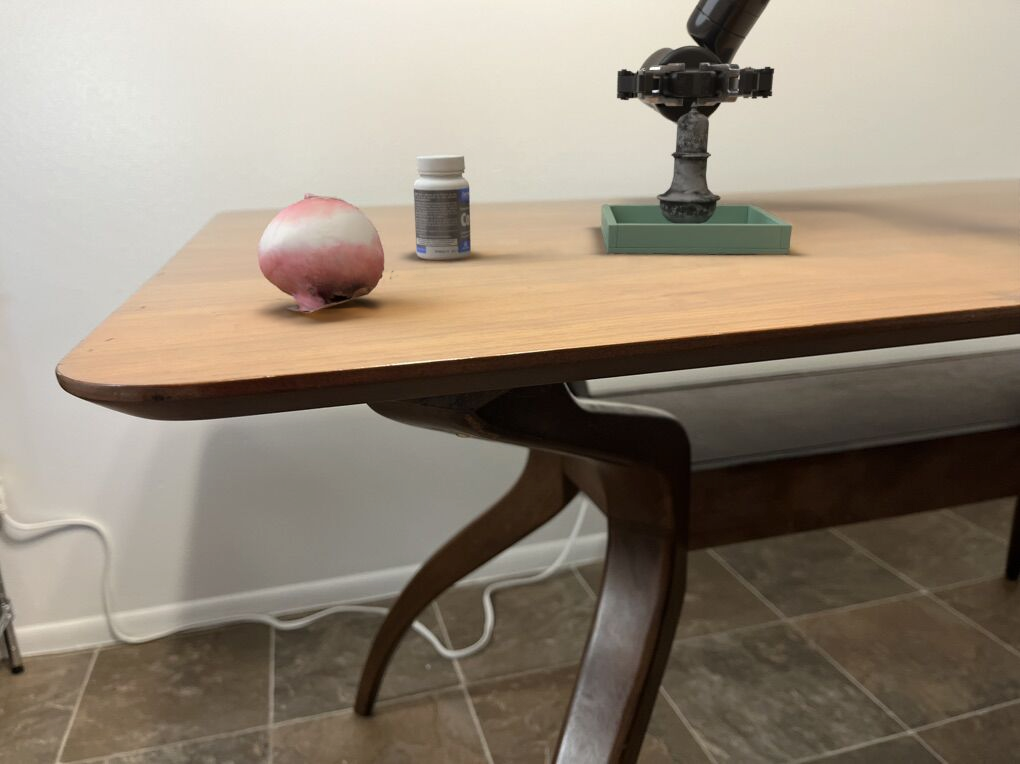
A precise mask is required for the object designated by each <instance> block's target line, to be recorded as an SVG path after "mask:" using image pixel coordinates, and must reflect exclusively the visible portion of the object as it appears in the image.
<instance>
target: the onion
mask: <svg viewBox="0 0 1020 764" xmlns="http://www.w3.org/2000/svg"><path fill="white" fill-rule="evenodd" d="M257 258H258V265H259V269H260V271H261V273H262V275H263V276H264V278H265V279H266V280H267V281H268V282H269V283H271V284H272V285H273V286H274V287H276V288H277V289H278V290H280V292H282V293H285V294H286V295H288V296H291V297H292V298H293V299H294V301H295V303H296V304H295V305H294V304H293V305H291V306H288V307H286V308H285V309H286V310H288V311H294V312H302V313H304V314H311V313H313V312H317V311H320V310H324V309H326V308H329V307H333V306H336V305H339V304H343V303H345V302H348V301H352V300H355V299H358V298H361V297H364V296H368V295H369V294H370V293H371V292H373V291H374V289H376V288H377V286H378V284H379V282H380V281H381V279H382V278H383V277H384V276H383V275H384V274H383V272H384V270H385V252H384V248H383V245H382V241H381V237H380V234H379V231H378V230H377V228H376V227H375V225H374V223H373V221H372V220H371V219H370V218H369V217H368V216H367V215H366V213H365V212H363V211H362V210H360V208H358V207H357V206H356V205H355V206H354V205H353V204H352V203H349V202H347V201H346V200H344V199H342V198H340V197H338V196H335V195H325V196H321V195H316V194H313V193H311V192H310V193H309V192H307V193H304V197H303V199H301V200H299V201H297V202H295V203H292V204H290V205H287V206H286V207H284V208H283V209H282V210H280V211H279V212H278V213H277V214H276V215H275V216H274V217H273V218H272V220H271V221H270V222H269V223H268V225H267V226H266V228H265V229H264V231H263V234H262V235H261V238H260V240H259V243H258V250H257Z"/></svg>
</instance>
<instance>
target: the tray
mask: <svg viewBox="0 0 1020 764" xmlns="http://www.w3.org/2000/svg"><path fill="white" fill-rule="evenodd" d="M600 213H601V214H600V216H601V217H600V230H601V234H602V236H603V241H604V245H605V248H606V252H607V254H645V255H647V254H649V255H650V254H654V255H656V254H658V255H660V254H661V255H663V254H664V255H665V254H667V255H668V254H670V255H671V254H673V255H674V254H675V255H677V254H679V255H789V254H790V247H791V240H792V239H791V237H792V231H793V229H792V228H793V225H792V224H790V223H789V222H787V221H785V220H784V219H781V218H780V217H778V216H776V215H775V214H772V213H770V212H769V211H767V210H765V209H764V208H762V207H759V206H757V205H756V204H716V209H715V211H714V213H713V215H712V217H711V218H710V219H709V220H707V221H706V222H703V223H700V224H674V223H672V222H670V221H667V220H666V218H665V217H664V216H663V215H662V213H661V210H660V204H601V211H600Z"/></svg>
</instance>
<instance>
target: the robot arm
mask: <svg viewBox="0 0 1020 764" xmlns="http://www.w3.org/2000/svg"><path fill="white" fill-rule="evenodd" d="M770 2H771V0H698V2H697V4H696V5H695V7H694V9H693V10H692V11H691V13H690V15H689V17H688V18H687V21H686V25H685V29H686V32H687V34H688V36H689V37H690V38H691V40H693V42H694V43H695V44H696V45H684V46H681V47H677V48H675V49H673V48H672V47H662V48H659V49H657V50H655V51H654V52H653V53H651V54H650V55H649V56H648V57H646V59H645V60H644V61H643V63H642V64H641V66H640V67H639V70H638V69H637V70H636V71H634V72H633V71H631V70H627V68H622V69H621V70H618V71H617V79H616V80H617V81H616V99H619V100H620V101H630V99H637V100H639V101H640V103H642V104H644V105H646V107H648V108H650V109H651V110H653V111H654V112H656V113H657V114H659V115H660V116H661V117H663V118H664V119H666V120H668V121H670V122H672V123H673V124H675V125H676V126H677V123H678V120H679V118H680V117H681V116H683V115H685V114H687V113H689V112H690V111H691V110H692V108H691V107H690V106H692V104H693V102H696V104H697V106H698V107H697V111H698V112H699V113H700V114H703V115H705V116H706V117H707V118H708V120H709V119H710V118H711V116H712V115H713V114H714V113H715V112H716V111H717V110H718V109H719V108H720V106H721V104H722V103H725V104H726V103H735V102H736V101H738V99H739V98H743V99H749V98H751V99H753V100H755V99H758V98H762V99H768V98H769V97H772V96H773V81H774V74H775V68H772V67H771V66H764V68H754V67H752V66H745V67H744V68H740V65H739V64H738V63H732V62H733V61H734V58H735V56H736V55H737V53H738V51H739V49H740V48H741V46H742V44H744V41H745V40H746V38H747V37H748V35H749V34H750V32H751V31H752V30H753V28H754V26H755V25H756V23H757V22H758V20H759V19H760V18H761V16H762V15H763V13H764V12H765V10H766V9H767V7H768V5H769V3H770Z"/></svg>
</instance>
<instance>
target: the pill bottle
mask: <svg viewBox="0 0 1020 764" xmlns="http://www.w3.org/2000/svg"><path fill="white" fill-rule="evenodd" d="M465 170H466V165H465V155H462V154H434V155H430V154H429V155H420V156H416V171H417V172H416V173H417V175H419V178H418V179H416V180H415V181H414V183H413V200H414V201H413V205H414V227H415V229H414V231H415V245H416V246H415V247H416V249H415V251H416V256H417V257H419V258H420V259H422V260H429V261H451V260H461V259H464V258H467V257H469V256H470V255H471V250H472V248H471V247H472V246H471V245H472V244H471V241H472V240H471V212H470V211H471V205H470V202H471V200H470V199H471V198H470V197H471V196H470V195H471V194H470V183H469V181H468V180H467V179H466V178H465V177H463V174H464V173H465Z"/></svg>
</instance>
